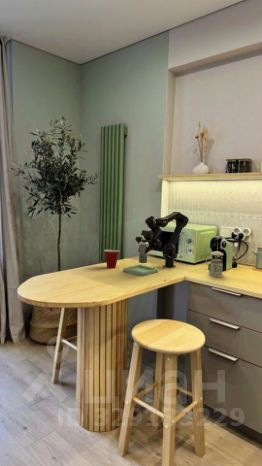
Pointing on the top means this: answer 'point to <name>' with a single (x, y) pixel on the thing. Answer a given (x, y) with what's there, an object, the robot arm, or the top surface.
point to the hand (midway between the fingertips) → (141, 252)
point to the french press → (215, 262)
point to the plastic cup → (111, 258)
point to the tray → (140, 270)
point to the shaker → (143, 252)
